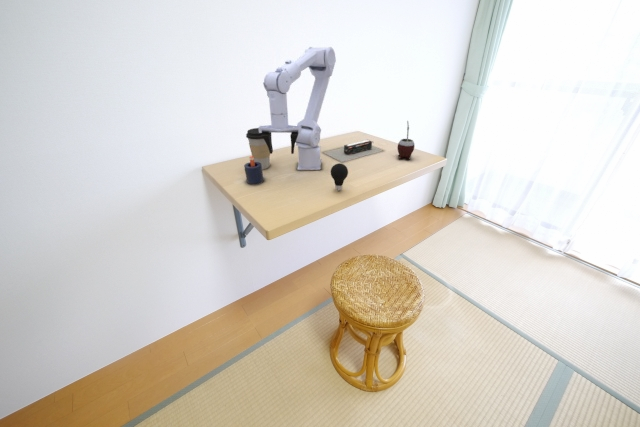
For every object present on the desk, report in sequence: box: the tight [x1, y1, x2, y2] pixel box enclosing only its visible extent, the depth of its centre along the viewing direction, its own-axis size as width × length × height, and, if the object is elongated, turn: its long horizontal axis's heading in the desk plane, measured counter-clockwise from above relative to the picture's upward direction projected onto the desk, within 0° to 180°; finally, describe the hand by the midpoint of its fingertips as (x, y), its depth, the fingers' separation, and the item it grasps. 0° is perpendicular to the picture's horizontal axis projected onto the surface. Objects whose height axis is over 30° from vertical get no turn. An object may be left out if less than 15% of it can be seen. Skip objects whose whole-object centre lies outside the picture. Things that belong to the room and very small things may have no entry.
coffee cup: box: [245, 127, 271, 170], centre depth 105 cm, size 9×9×15 cm
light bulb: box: [330, 162, 349, 192], centre depth 88 cm, size 6×6×10 cm
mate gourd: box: [396, 120, 415, 161], centre depth 113 cm, size 8×8×15 cm
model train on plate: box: [323, 139, 383, 163], centre depth 123 cm, size 14×25×4 cm, turn 124°
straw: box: [249, 155, 255, 167], centre depth 95 cm, size 2×2×9 cm
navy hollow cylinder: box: [243, 161, 265, 186], centre depth 96 cm, size 6×6×6 cm
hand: (282, 152), depth 93 cm, fingers open, 7 cm apart
